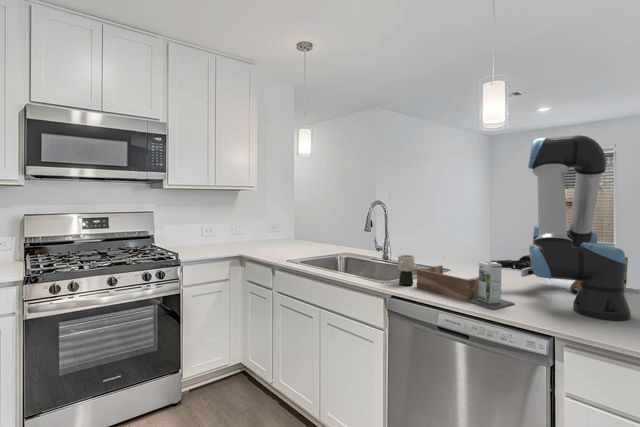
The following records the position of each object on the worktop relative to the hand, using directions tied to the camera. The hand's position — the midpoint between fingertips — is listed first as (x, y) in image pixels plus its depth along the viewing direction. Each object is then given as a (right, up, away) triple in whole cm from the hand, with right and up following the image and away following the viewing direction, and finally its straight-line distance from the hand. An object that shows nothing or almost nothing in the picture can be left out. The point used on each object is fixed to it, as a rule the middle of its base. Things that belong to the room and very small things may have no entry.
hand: (504, 269), depth 137 cm
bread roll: (+36, -11, +6) cm, 38 cm away
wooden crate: (-15, -11, +12) cm, 22 cm away
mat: (-8, -11, -5) cm, 15 cm away
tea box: (+49, -10, +15) cm, 52 cm away
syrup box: (-8, -11, -5) cm, 14 cm away
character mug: (-32, -10, +23) cm, 41 cm away
